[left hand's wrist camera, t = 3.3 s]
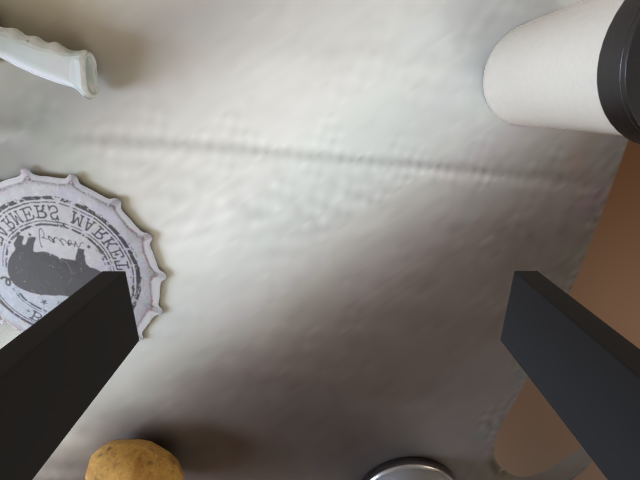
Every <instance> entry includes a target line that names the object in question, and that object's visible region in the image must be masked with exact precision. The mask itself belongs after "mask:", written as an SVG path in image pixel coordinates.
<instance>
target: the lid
mask: <svg viewBox="0 0 640 480" xmlns="http://www.w3.org/2000/svg"><path fill="white" fill-rule="evenodd" d="M597 90H598V96H599V100H600V104H601V107H602V109H603V111H604V114H605V116H606V117H607V119H608V120H609V122H610V123H611V125H612V126H613V127H614V128H615V129H616V130H617V131H618V132H619V133H620V134H622V135H623V136H624V137H626V138H627V139H629V140H631V141H633V142H635V143H638V144H640V0H624V2H623V3H622V5H621V6H620V8H619V9H618V11H617V12H616V14H615V16H614V18H613V20H612V22H611V24H610V26H609V27H608V30H607V32H606V35H605V38H604V40H603V43H602V47H601V50H600V54H599V60H598V66H597Z"/></svg>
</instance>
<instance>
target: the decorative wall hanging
mask: <svg viewBox="0 0 640 480" xmlns="http://www.w3.org/2000/svg"><path fill="white" fill-rule="evenodd" d="M151 241H152V236H151V235H150V234H149V233H144V232H142V231H140V230H139V229H138V228H137V227H136V225H135V224H134V223H133V222H132V221H131V220H130V219H129V217H128V216H127V215H126V214H125V213H124V212H123V211H122V209H121V202H120V200H119V199H117V198H112V199H108V198H106V197H104V196H102V195H100V194H98V193H96V192H95V191H93V190H91V189H89V188H87V187H85V186H83V185H81V184H80V183H79V181H78V179H77V177H76V176H75V175H70V174H69V175H68V176H67V178H63V179H61V178H55V177H48V176H38V175H35V174H33V173H31V172H30V171H29V169H27V168H22V169H21V174H20V175H19V176H18V177H15V178H11V179H7V180H5V181H2V182H0V324H3V322H4V321H5V322H6V323H8V324H10V325H11V326H12V327H13V328H15V329H17V330H20V331H21V332H24V331H25V330H26V329H28V328H29V327H30V326H32V325H33V324H34V323H35V322H37V321H38V320H39V319H41V318H42V317H43V316H45V315H46V314H47V313H49V312H50V311H51V310H52V309H54V308H55V307H56V306H58V305H59V304H60V303H62V302H63V301H64V300H66V299H67V298H68V297H69V296H71V295H72V294H73V293H75V292H76V291H77V290H79V289H80V288H81V287H83V286H84V285H85V284H86V283H88V282H89V281H90V280H92V279H93V278H94V277H96V276H97V275H98V274H100V273H101V272H102V271H126V276H127V281H128V286H129V291H130V296H131V301H132V306H133V311H134V316H135V320H136V325H137V330H138V335H139V341H141V340H143V335H142V332H143V330H144V329H145V328H146V327H147V325H148V324H149V323H150V321H151V320H152V318H153V317H154V316H156V315H161V314H162V309H161V308H160V307H159V305H158V303H159V297H160V285H161V282H162V281H163V280H165V279H166V274H165V273H164V272H162V271H161V270H159V268H158V266H157V263H156V260H155V257H154V255H153V252H152V250H151V247H150V242H151ZM11 330H12V329H11Z"/></svg>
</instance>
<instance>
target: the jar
mask: <svg viewBox="0 0 640 480" xmlns="http://www.w3.org/2000/svg"><path fill="white" fill-rule="evenodd" d="M623 2H624V0H581V1H579V2H576V3H574V4H571V5H569V6H566V7H564V8H561V9H559V10H556V11H554V12H551V13H549V14H546V15H544V16H541V17H539V18H536V19H534V20H531V21H529V22H526V23H524V24H521V25H519V26H517V27H515V28H514V29H512V30H511V31H510V32H508V33H507V34H506V35H505V36H504V37H503V38H502V39H501V40H500V41H499V42H498V43H497V45H496V46H495V48H494V49H493V51H492V52H491V54H490V56H489V58H488V61H487V63H486V67H485V71H484V76H483V90H484V95H485V98H486V101H487V104H488V106H489V107H490V109H491V110H492V112H493V113H494V114H495V115H496V116H497V117H499V118H500V119H501V120H503V121H505V122H507V123H510V124H513V125H519V126H529V127H539V128H548V129H558V130H568V131H577V132H587V133H596V134H606V135H616V136H623V135H622V134H620V133H619V132H618V131H617V130H616V129H615V128H614V127H613V126H612V125H611V123H610V122H609V120H608V119H607V117H606V116H605V114H604V111H603V109H602V107H601V104H600V100H599V96H598V90H597V66H598V60H599V54H600V50H601V47H602V43H603V40H604V38H605V35H606V32H607V30H608V27H609V26H610V24H611V22H612V20H613V18H614V16H615V14H616V12H617V11H618V9H619V8H620V6H621V5H622V3H623Z"/></svg>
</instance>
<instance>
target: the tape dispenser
mask: <svg viewBox="0 0 640 480" xmlns="http://www.w3.org/2000/svg"><path fill="white" fill-rule="evenodd" d="M0 58H2V59H4V60H5V61H7V62H9V63H11V64H13V65H15V66H18V67H20V68H22V69H24V70H26V71H28V72H30V73H33V74H35V75H38V76H40V77H42V78H45V79H48V80H51V81H54V82H57V83H59V84H62V85H66V86H70V87H73V88H75V89H77V90H78V91H79V92H80V93H81V94H82V95H83V96H84V97H86V98H87V99H93V98H95V97H96V96H97V94H98V88H99V84H98V73H97V64H96V60H95V57H94V56H93V54H92V53H91V52H90V51H88V50H80V51H75V50H70V49H68V48H65V47H64V46H63V45H61V44H60V43H58V42H50V43H48V42H46V41H44V40H42V39H41V38H39V37H38V36H33V35H32V36H28V35H25V34H24V33H23V32H21V31H20V30H18V29H16V28H4V27H0Z"/></svg>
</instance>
